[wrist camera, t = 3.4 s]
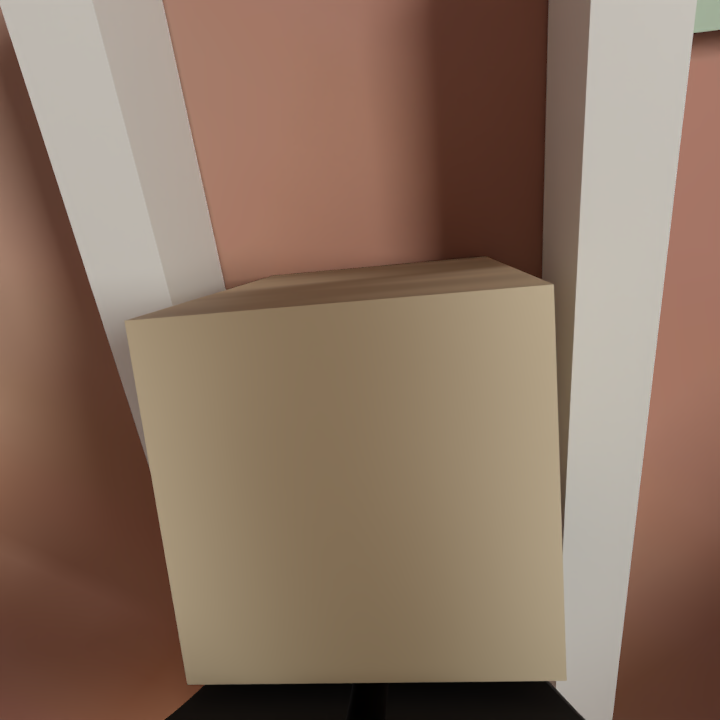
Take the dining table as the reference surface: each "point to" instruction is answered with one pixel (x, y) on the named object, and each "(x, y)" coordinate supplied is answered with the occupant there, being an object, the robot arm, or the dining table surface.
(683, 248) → the dining table surface
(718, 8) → the sage mat
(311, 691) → the robot arm
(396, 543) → the birch block
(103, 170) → the slot rack
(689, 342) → the dining table surface
